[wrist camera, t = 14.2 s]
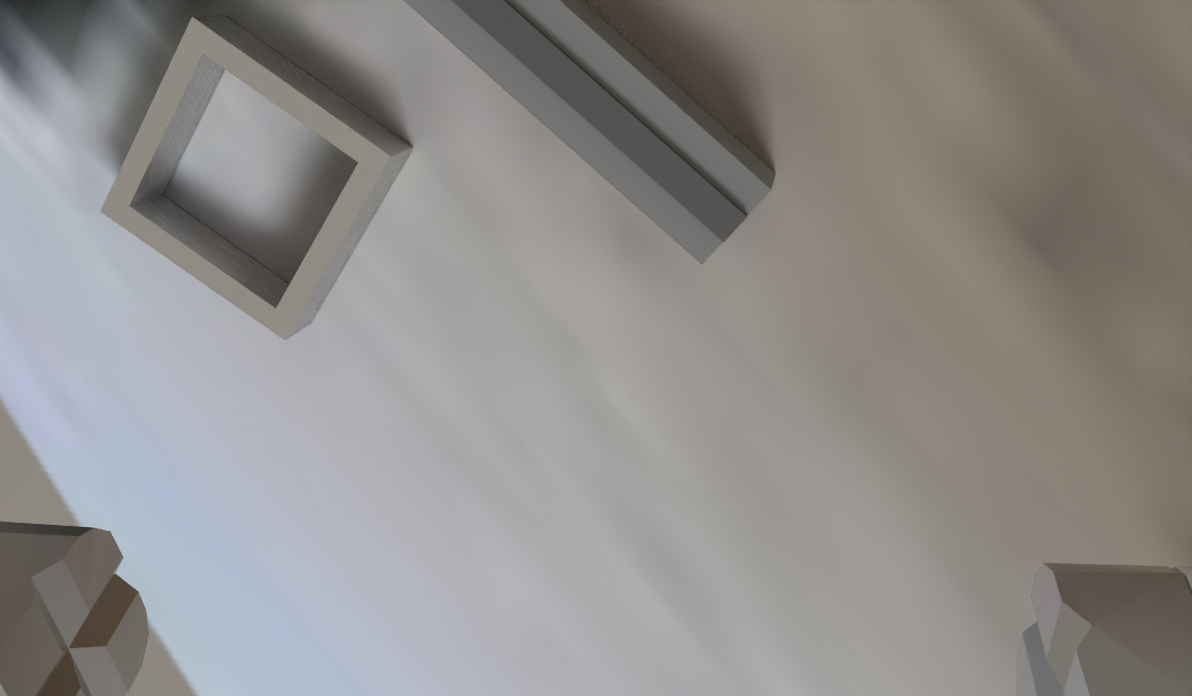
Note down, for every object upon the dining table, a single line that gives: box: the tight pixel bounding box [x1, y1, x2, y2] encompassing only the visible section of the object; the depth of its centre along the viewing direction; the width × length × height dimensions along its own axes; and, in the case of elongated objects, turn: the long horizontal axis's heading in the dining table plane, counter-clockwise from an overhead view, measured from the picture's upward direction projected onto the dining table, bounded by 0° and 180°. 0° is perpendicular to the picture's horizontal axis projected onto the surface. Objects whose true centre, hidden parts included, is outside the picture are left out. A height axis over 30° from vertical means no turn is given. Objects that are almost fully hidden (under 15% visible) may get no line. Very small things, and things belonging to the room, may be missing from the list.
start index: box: [100, 15, 413, 340], centre depth 37 cm, size 8×8×2 cm
